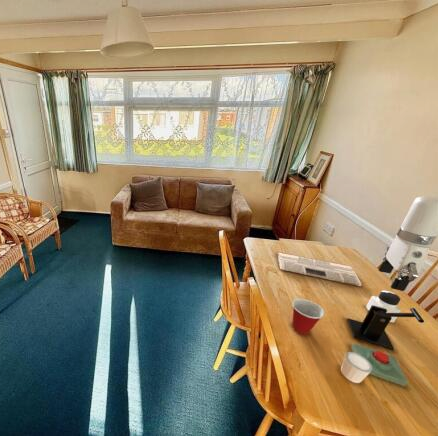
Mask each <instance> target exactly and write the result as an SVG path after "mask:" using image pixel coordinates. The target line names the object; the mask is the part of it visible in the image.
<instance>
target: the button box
mask: <svg viewBox="0 0 438 436" xmlns="http://www.w3.org/2000/svg"><path fill="white" fill-rule="evenodd" d="M350 348H351V352H354V353H357V354H359V355H361V356H363V357H364V358H365V359H366V360H368V361H369V363H370V364H371V366H372V371H371V372H370V373H369V374H368V375H372V376H374V377H377V378H380V379H383V380H385V381H388V382H391V383H393V384H396V385H399V386H402V387H406V386H407V385H408V383H409V382H408V380H407V378H406V376H405V374H404V372H403V370H402V368H401V366H400V364H399V362H398V361H397V358H396V356H395V355H392V354H389V353H385V352H384V353H385V354H386V355H387V356H388V357H389V361H388V362H387V363H385V364H384V363H381V362H379V361H378V360H376V359H375V358H374V356H373V354H374V353H375V351H379V350H377V349H375V348H370V347H367V346H364V345H361V344H358V343H354V342H353V343H351V345H350Z"/></svg>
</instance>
